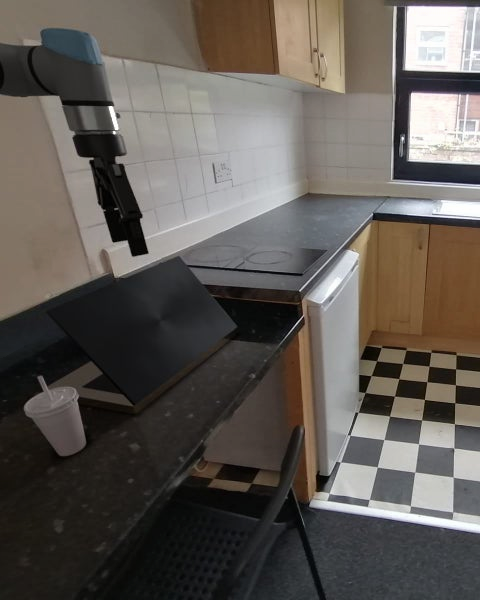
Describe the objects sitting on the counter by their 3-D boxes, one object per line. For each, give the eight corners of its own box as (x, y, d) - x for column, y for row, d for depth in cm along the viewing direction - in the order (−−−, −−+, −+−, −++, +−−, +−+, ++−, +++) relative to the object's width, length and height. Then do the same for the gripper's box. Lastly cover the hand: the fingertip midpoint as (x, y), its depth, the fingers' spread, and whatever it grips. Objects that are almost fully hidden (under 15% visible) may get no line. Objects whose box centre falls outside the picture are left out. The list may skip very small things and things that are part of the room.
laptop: (45, 397, 77) (41, 389, 76) (164, 325, 103) (162, 319, 102) (136, 414, 72) (133, 405, 71) (236, 334, 98) (235, 327, 98)
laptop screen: (44, 312, 67) (47, 310, 66) (176, 257, 93) (179, 255, 93) (133, 406, 71) (135, 404, 71) (235, 328, 98) (237, 326, 97)
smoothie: (47, 469, 61) (9, 394, 55) (46, 445, 65) (11, 373, 59) (98, 449, 64) (68, 376, 59) (94, 427, 69) (66, 358, 63)
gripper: (142, 134, 66) (172, 256, 75) (103, 131, 82) (132, 233, 91) (87, 135, 61) (126, 266, 70) (57, 132, 77) (92, 239, 86)
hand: (129, 247), depth 81 cm, fingers open, 13 cm apart
